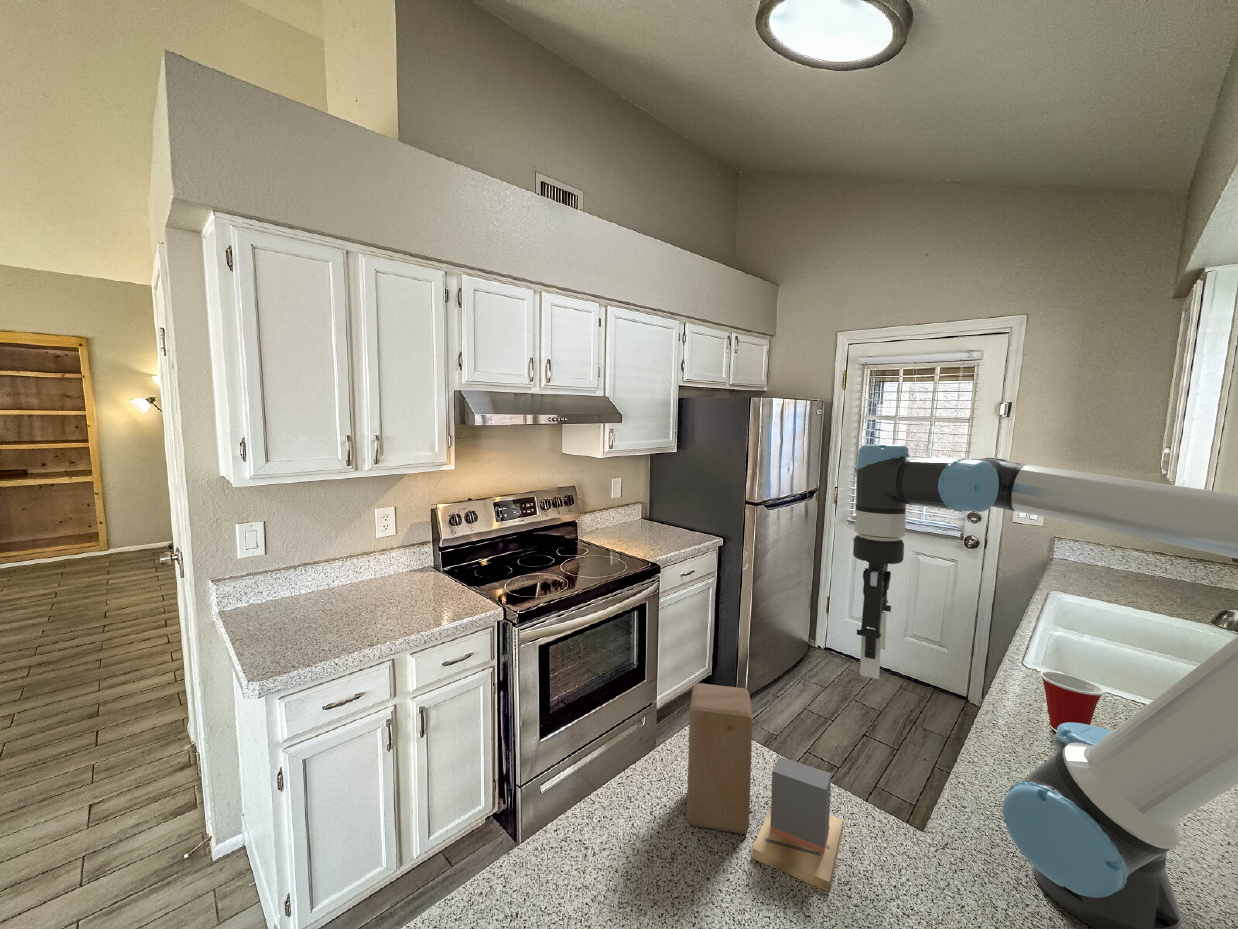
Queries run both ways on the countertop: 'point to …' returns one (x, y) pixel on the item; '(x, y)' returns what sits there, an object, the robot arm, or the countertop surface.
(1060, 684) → the plastic cup
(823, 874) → the board
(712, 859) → the countertop surface
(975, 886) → the countertop surface
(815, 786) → the block
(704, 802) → the wooden block
